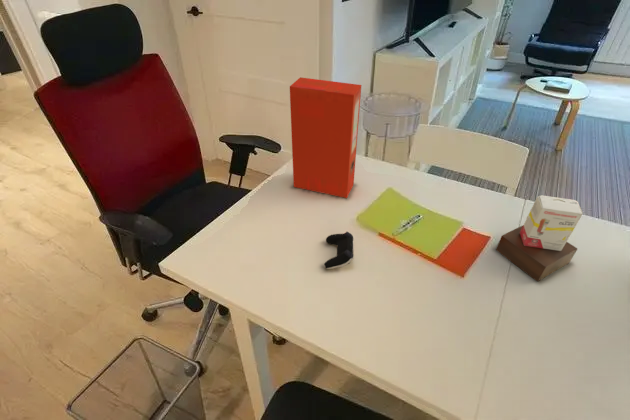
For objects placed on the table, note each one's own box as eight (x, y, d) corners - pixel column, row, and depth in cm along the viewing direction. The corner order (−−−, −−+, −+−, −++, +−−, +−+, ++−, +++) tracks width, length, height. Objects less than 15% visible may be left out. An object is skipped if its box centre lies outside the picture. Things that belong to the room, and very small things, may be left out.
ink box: (522, 246, 89) (541, 207, 82) (519, 232, 93) (536, 194, 85) (561, 252, 87) (584, 213, 80) (556, 238, 91) (578, 199, 84)
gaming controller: (334, 277, 91) (356, 264, 88) (322, 267, 89) (344, 254, 86) (335, 246, 99) (356, 233, 96) (324, 236, 97) (344, 223, 94)
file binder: (303, 174, 122) (300, 76, 102) (353, 184, 118) (361, 84, 98) (293, 187, 117) (289, 86, 96) (346, 198, 112) (353, 95, 92)
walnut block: (526, 234, 100) (533, 220, 96) (569, 263, 91) (578, 248, 88) (495, 249, 95) (501, 235, 92) (537, 281, 87) (545, 267, 84)
